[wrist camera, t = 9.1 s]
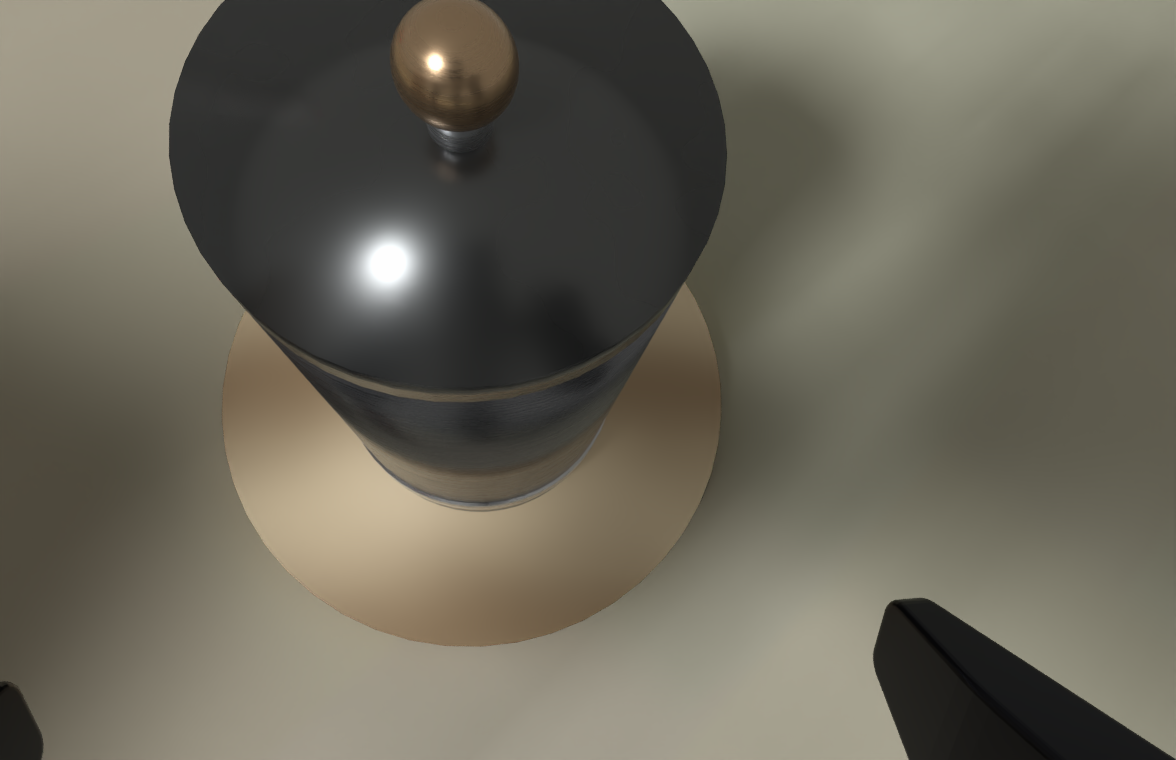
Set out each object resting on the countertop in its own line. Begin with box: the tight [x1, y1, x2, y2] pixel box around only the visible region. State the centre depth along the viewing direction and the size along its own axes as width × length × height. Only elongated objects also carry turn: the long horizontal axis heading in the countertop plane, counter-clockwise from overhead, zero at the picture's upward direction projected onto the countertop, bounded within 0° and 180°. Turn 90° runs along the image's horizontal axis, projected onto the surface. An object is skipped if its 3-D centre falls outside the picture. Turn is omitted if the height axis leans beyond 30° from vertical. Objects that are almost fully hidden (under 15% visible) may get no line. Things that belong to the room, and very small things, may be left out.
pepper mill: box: [169, 0, 727, 512], centre depth 12 cm, size 8×6×12 cm
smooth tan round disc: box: [222, 282, 721, 646], centre depth 18 cm, size 12×12×1 cm
